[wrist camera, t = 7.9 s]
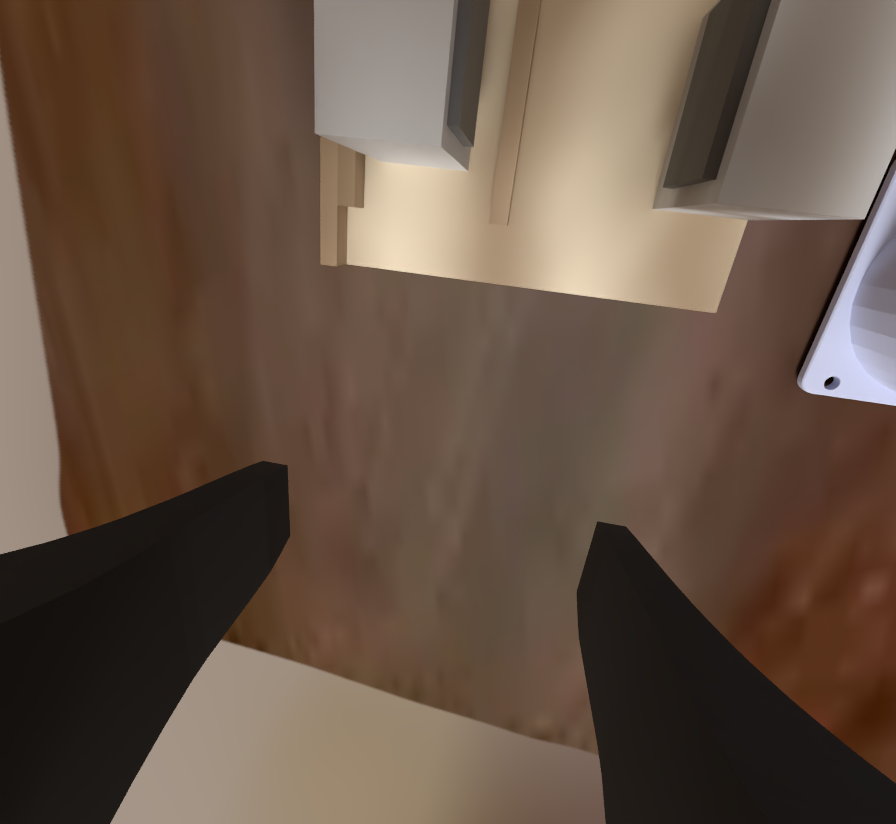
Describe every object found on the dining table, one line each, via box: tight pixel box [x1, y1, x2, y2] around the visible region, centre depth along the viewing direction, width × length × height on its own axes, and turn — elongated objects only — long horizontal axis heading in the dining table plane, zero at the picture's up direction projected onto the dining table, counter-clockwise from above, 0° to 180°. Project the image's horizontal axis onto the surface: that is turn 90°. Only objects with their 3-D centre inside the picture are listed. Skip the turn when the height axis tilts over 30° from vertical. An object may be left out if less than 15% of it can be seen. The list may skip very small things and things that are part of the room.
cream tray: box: [320, 0, 896, 313], centre depth 12 cm, size 14×11×7 cm
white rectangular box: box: [314, 0, 490, 171], centre depth 12 cm, size 3×5×6 cm, turn 173°
